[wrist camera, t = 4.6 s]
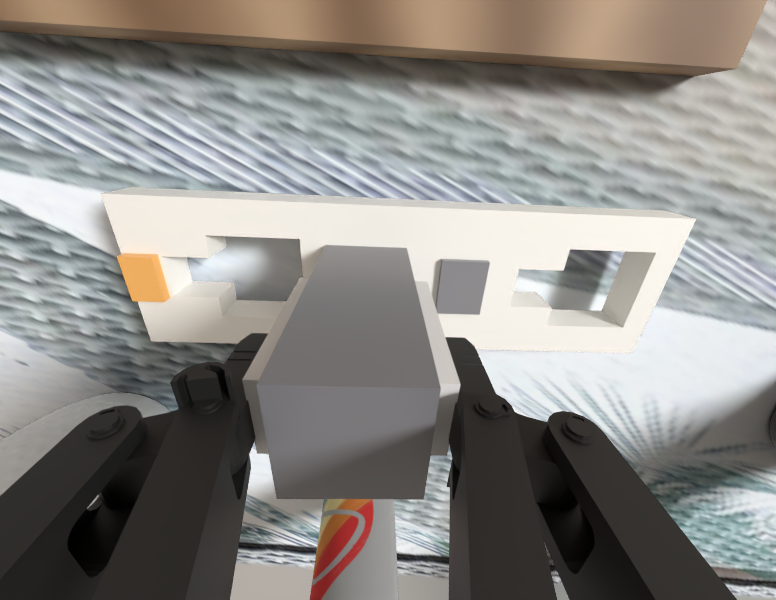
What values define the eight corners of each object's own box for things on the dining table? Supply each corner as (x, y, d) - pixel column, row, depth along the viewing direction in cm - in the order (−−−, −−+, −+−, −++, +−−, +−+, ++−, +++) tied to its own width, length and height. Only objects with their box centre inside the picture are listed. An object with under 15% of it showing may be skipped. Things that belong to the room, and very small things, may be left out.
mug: (257, 480, 29) (176, 717, 17) (148, 505, 30) (2, 743, 18) (156, 349, 22) (-91, 593, 10) (19, 388, 23) (-342, 646, 11)
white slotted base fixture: (663, 210, 17) (1112, 328, 7) (610, 334, 21) (849, 539, 10) (131, 187, 16) (-344, 285, 6) (171, 323, 20) (-70, 539, 9)
